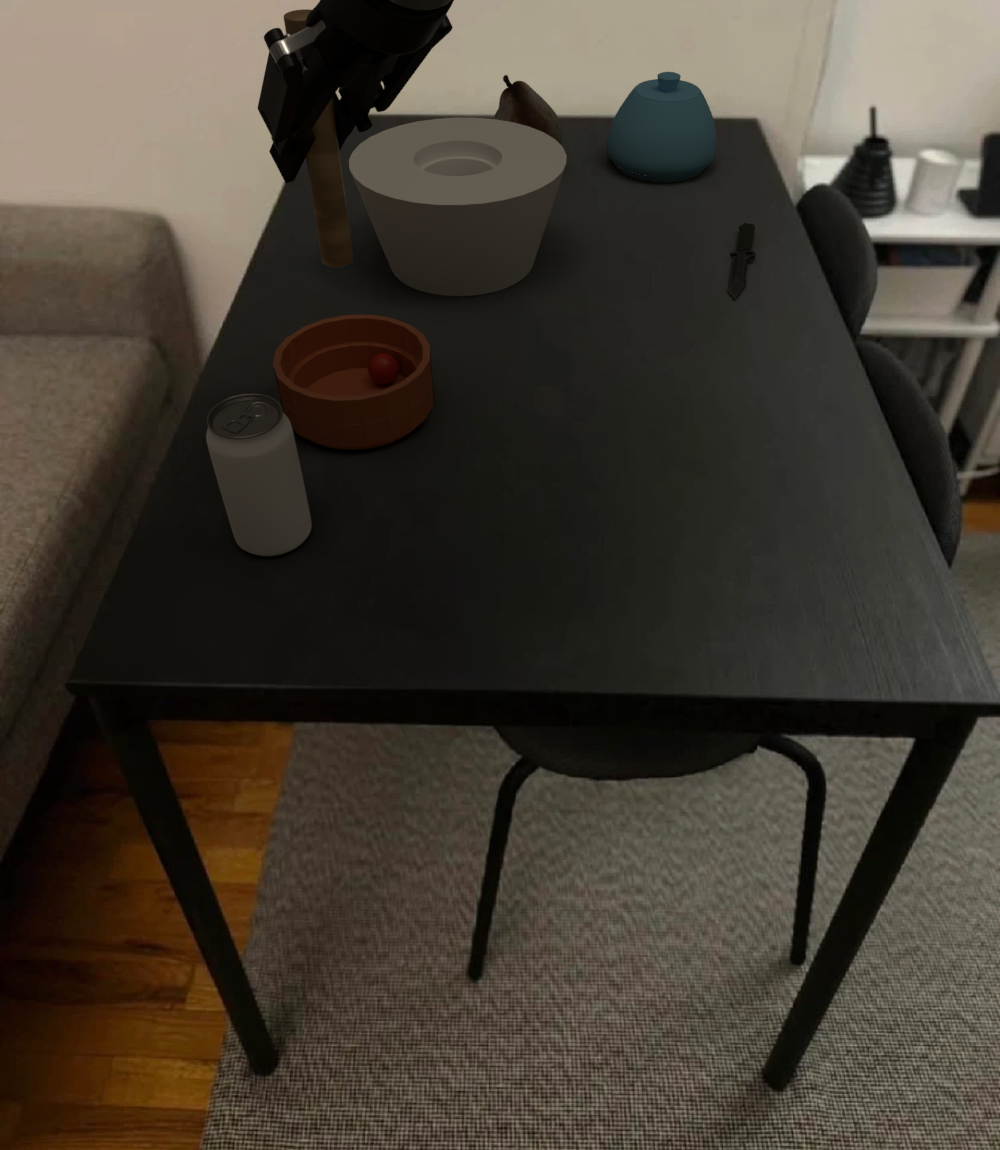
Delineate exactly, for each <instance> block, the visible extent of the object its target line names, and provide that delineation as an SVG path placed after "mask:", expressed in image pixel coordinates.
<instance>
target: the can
mask: <svg viewBox="0 0 1000 1150" xmlns="http://www.w3.org/2000/svg"><path fill="white" fill-rule="evenodd" d="M206 424H207V430H206V434H205V440H206V446H207V449H208V453H209V457H210V460H211V464H212V467H213V470H214V475H215V477H216V481H217V484H218V488H219V491H220V495H221V498H222V501H223V505H224V508H225V511H226V516H227V518H228V521H229V525H230V528H231V532H232V536H233V538H234V540H235V543H236V544H237V546H238V547H239V548H240V549H241V550H243V551H245V552H247V553H249V554H251V555H253V556H258V557H263V558H265V557H266V558H269V557H270V558H271V557H278V556H282V555H285V554H288V553H291V552H292V551H294V550H296V549H297V548H299V547H300V546H301V545H303V543H304V542H305V541H306V540H307V539H308V537H309V536H310V534H311V532H312V527H313V525H312V524H313V522H312V518H311V517H312V516H311V512H310V506H309V502H308V497H307V491H306V487H305V481H304V476H303V473H302V467H301V462H300V457H299V453H298V449H297V443H296V439H295V434H294V430H293V429H292V426H291V423H290V421H289V419H288V417H287V416H286V415H285V414H284V413H283V409H282V406H281V402H280V401H278V400H277V399H275V398H274V397H272V396H269V395H266V394H262V393H243V394H236V395H232V396H230V397H228V398H227V397H226V398H225V399H223V400H221V401H219V402H218V403H216V404H215V405H214V406H213V407H212V408H211V409H209V411H208V414H207V416H206Z"/></svg>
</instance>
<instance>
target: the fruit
mask: <svg viewBox="0 0 1000 1150" xmlns="http://www.w3.org/2000/svg"><path fill="white" fill-rule="evenodd" d="M502 81H503V82H504V84H505V85H506V88H504V89H503V91H501V94H500V96H499V101H498V108H497V110H496V112H495V114H494V117H493V119H496V120H502V121H508V122H514V123H517V124H521V125H525V126H529V127H531V128H534V129H536V130H539V131H541V132H544V133H545V134H547V135H549V136H551V137H552V138H554V139H555V140H556V141H557V142H558V143H559V144H560V145H561V146H562V144H563V131H562V125H561V122H560V121H561V120H560V119H559V117H558V114H557V113H556V111H555V110H554V109H553V108H552V107H551V105H550V104H549V103H548V102H547V101H546V100H545V99H544V98H543V97H542V96H541V95H540V94H539V93H537V91H536V90H535V89H533V88H532V87H531V86H530V85H529V84H528V83H527V82H526V81H523V80H515V81H514V82H511V81H510V78H509V75H508V74H504V75H503V76H502Z"/></svg>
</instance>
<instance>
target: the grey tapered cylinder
mask: <svg viewBox="0 0 1000 1150" xmlns="http://www.w3.org/2000/svg"><path fill="white" fill-rule="evenodd" d="M566 166H567V153H566V151H565V149H564V147H563V146H562V145H560V144H559V143H558V142H557V141H556V140H555V139H554V138H552V137H551V136H549V135H547V134H545V133H544V132H541V131H539V130H536V129H534V128H531V127H529V126H525V125H521V124H517V123H514V122H508V121H502V120H496V119H494V118H485V117H484V118H483V117H443V118H441V117H440V118H433V119H432V118H431V119H425V120H418V121H414V122H413V121H412V122H409V123H405V124H400V125H397V126H393V127H390V128H388V129H385V130H383V131H380V132H378V133H376V134H373V135H371V136H369V137H368V138H367V139H365V140H363V141H362V142H360V143H359V144H358V146H357V147H355V149H354V150H353V151H352V152H351V154H350V157H349V159H348V167H349V172H350V174H351V177H352V179H353V181H354V184H355V186H356V189H357V191H358V193H359V196H360V198H361V200H362V204H363V205H364V208H365V211H366V212H367V215H368V217H369V220H370V222H371V224H372V227H373V230H374V231H375V234H376V236H377V239H378V241H379V243H380V247H381V249H382V250H383V253H384V256H385V259H386V260H387V263H388V266H389V268H390V269H391V272H392V273H393V275H394V276H395V277H396V279H398V281H400V282H401V283H403V284H404V285H406V286H408V287H409V288H412V289H415V290H418V291H419V292H422V293H423V292H424V293H427V294H431V295H435V296H437V295H438V296H446V297H471V296H473V297H474V296H480V295H487V294H491V293H495V292H498V291H502V290H505V289H507V288H510V287H512V286H514V285H516V284H518V283H519V282H521V281H522V280H523V279H525V278H526V277H527V276H528V275H529V274H530V272H531V271H532V269H533V267H534V264H535V261H536V258H537V255H538V252H539V250H540V249H539V248H540V245H541V244H542V239H543V236H544V234H545V231H546V228H547V225H548V221H549V218H550V215H551V211H552V209H553V206H554V203H555V199H556V197H557V194H558V192H559V191H558V190H559V188H560V184H561V181H562V178H563V175H564V172H565V169H566Z"/></svg>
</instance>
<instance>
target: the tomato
mask: <svg viewBox="0 0 1000 1150" xmlns="http://www.w3.org/2000/svg"><path fill="white" fill-rule="evenodd" d="M398 370H399V368H398V363H397V361H396V360H395V358H394V357H393V356H391V355H389V354H387V353H379V354H376V355H374V356H373V357H372V358H371V359H370V361H369V363H368V373H369V376H370V377H371V379H372V380H373V381H375V382H376V383H378V384H389V383H391V382H392V381H394V380H395V378H396V377H397V375H398Z"/></svg>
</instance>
